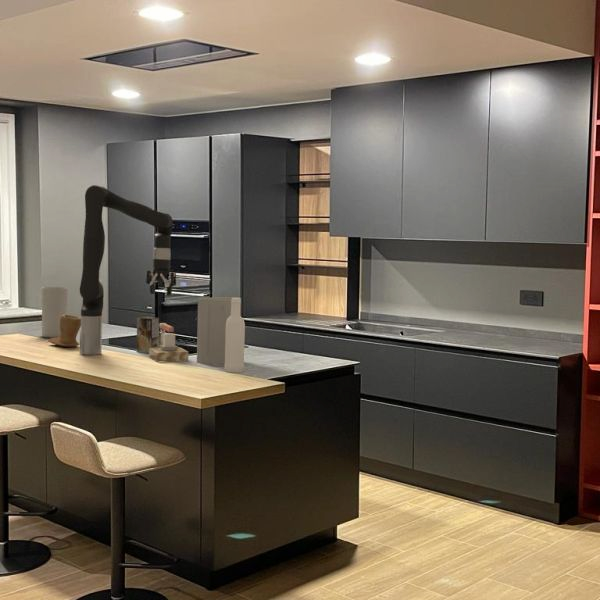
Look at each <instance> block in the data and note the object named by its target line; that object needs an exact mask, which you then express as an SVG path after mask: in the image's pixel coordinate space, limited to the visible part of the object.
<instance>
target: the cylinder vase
mask: <svg viewBox="0 0 600 600" xmlns="http://www.w3.org/2000/svg"><path fill="white" fill-rule="evenodd" d="M41 289H42V290H41V336H42V337H44V338H49V339H51V338H59V337H60V335H61V333H60V319H61V316H62V315H68V287H61V286H60V287H59V286H46V287H43V286H42V287H41Z"/></svg>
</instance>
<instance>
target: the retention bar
mask: <svg viewBox="0 0 600 600" xmlns="http://www.w3.org/2000/svg"><path fill="white" fill-rule="evenodd" d="M161 328H162V329H164V330H165V332H168V333H175V332H174V326H171V325H169V324H167V322H160V329H161Z"/></svg>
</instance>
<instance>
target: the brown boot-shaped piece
mask: <svg viewBox="0 0 600 600" xmlns="http://www.w3.org/2000/svg"><path fill="white" fill-rule="evenodd" d="M80 330H81V316H75V315H71V314H70V315H69V314H67V315H62V316H61V319H60V333H61V335H60V337H59V338H49V339H48V341H47V342H48V343H50V344H53V345H55V346H60V347H66V348H67V347H70V348H71V347H77V346H80V342H78V341H77V336H78V334H79V333H80Z"/></svg>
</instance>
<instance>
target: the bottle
mask: <svg viewBox="0 0 600 600" xmlns="http://www.w3.org/2000/svg"><path fill="white" fill-rule="evenodd" d="M240 298H241V297H238V298H232V301H231V316H230V317H229V318H228V319H227V322H226V339H225V366H224V372H225V373H226V372H227V373H233V374H234V373H243V372H244V371H245V339H246V338H245V335H246V334H245V333H246V332H245V331H246V327H245V326H246V322H245V320H244V317H242V315H241V316H240V303H241V304H242V300H241V301H240Z"/></svg>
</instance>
